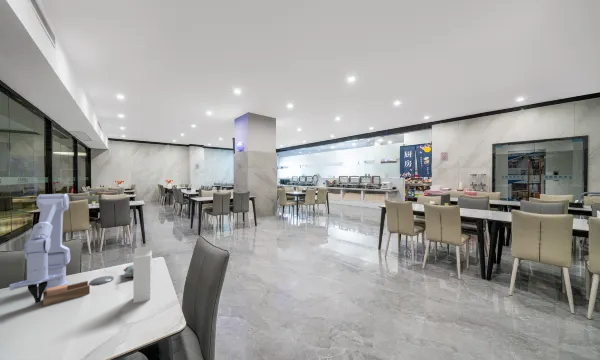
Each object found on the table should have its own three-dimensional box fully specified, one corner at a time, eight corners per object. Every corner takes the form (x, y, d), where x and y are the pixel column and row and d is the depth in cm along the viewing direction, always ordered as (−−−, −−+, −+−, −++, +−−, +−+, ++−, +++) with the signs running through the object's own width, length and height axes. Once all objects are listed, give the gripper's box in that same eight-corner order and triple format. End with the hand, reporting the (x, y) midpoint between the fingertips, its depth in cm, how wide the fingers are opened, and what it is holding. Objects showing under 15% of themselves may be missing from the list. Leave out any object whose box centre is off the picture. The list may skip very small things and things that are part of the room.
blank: (46, 300, 100) (46, 288, 100) (66, 295, 105) (66, 283, 105) (46, 303, 98) (46, 291, 98) (67, 298, 102) (67, 286, 102)
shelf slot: (43, 299, 101) (43, 291, 101) (87, 288, 111) (87, 280, 111) (43, 306, 96) (43, 297, 96) (89, 293, 106) (89, 285, 106)
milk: (135, 297, 103) (135, 246, 103) (152, 294, 106) (151, 244, 106) (133, 303, 98) (132, 250, 98) (150, 300, 100) (150, 248, 100)
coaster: (88, 281, 119) (88, 279, 119) (111, 275, 125) (111, 274, 125) (91, 286, 113) (91, 285, 113) (115, 280, 119) (115, 279, 119)
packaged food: (122, 280, 118) (122, 270, 118) (123, 273, 128) (123, 264, 128) (143, 276, 123) (143, 267, 123) (143, 270, 133) (143, 261, 133)
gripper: (8, 276, 89) (8, 312, 89) (63, 266, 100) (63, 298, 100) (10, 271, 94) (10, 305, 94) (62, 262, 104) (62, 292, 105)
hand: (37, 301), depth 97 cm, fingers closed
